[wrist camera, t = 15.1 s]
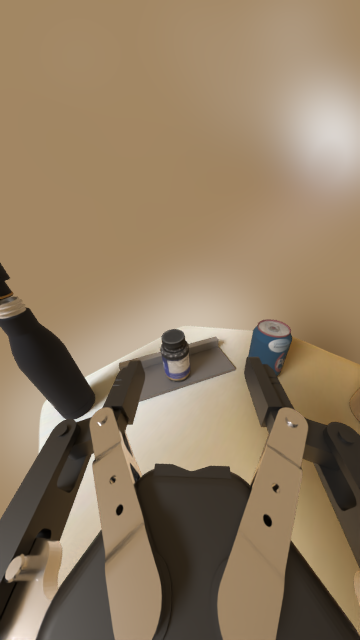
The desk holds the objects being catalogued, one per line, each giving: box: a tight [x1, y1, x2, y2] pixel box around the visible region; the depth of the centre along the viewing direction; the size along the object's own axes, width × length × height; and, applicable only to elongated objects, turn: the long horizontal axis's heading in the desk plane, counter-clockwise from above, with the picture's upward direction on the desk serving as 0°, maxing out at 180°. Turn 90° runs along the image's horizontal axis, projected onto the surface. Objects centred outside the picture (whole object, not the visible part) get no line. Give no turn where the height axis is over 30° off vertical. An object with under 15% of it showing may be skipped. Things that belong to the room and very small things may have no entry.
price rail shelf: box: [119, 337, 235, 402], centre depth 39 cm, size 26×10×3 cm, turn 107°
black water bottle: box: [0, 263, 95, 419], centre depth 26 cm, size 6×6×30 cm
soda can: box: [248, 320, 292, 376], centre depth 35 cm, size 7×7×12 cm
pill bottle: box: [160, 329, 191, 382], centre depth 35 cm, size 6×6×11 cm
